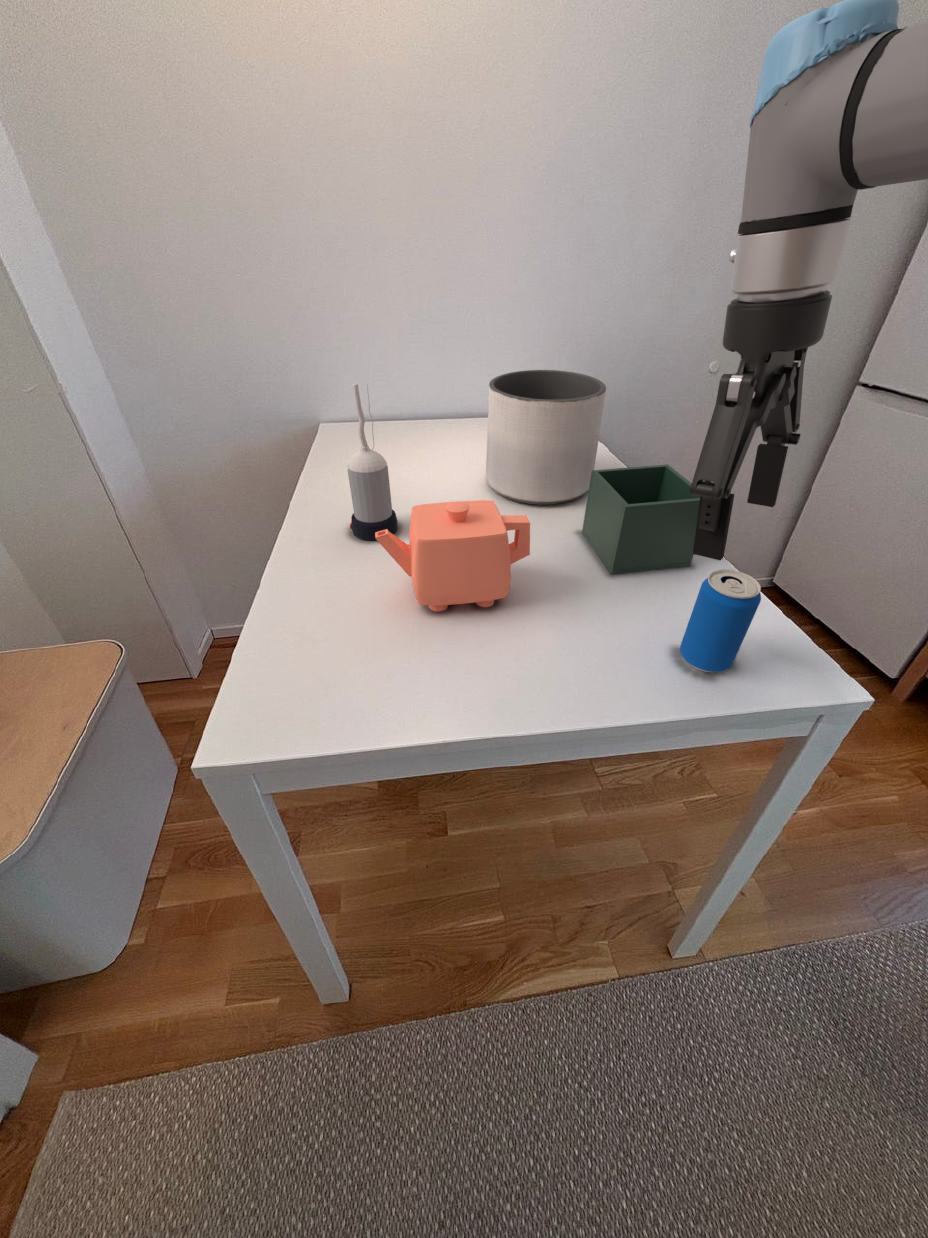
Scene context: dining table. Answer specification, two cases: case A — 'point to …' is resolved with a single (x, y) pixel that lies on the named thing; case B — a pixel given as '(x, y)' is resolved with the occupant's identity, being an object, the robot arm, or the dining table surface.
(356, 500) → the humidifier
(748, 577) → the beverage can
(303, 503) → the dining table surface
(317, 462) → the dining table surface
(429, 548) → the teapot
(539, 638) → the dining table surface
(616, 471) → the waste bin
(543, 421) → the planter
